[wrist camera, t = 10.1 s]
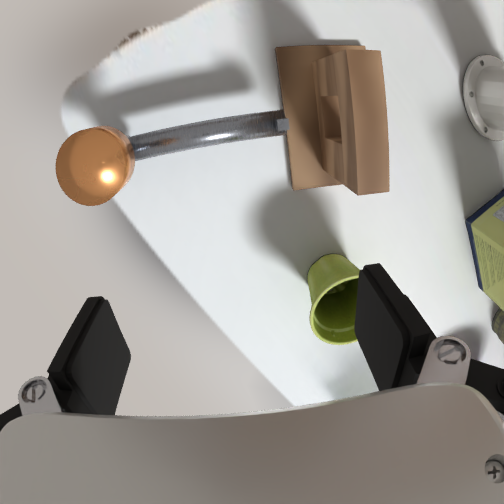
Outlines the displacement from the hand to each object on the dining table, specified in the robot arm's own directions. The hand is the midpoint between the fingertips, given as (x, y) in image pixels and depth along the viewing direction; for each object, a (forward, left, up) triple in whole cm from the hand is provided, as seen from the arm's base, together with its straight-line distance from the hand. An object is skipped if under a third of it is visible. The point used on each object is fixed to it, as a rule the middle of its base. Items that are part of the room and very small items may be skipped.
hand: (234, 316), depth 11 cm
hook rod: (+3, -5, -24) cm, 24 cm away
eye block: (-12, -5, -26) cm, 29 cm away
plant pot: (-11, +15, -26) cm, 32 cm away
